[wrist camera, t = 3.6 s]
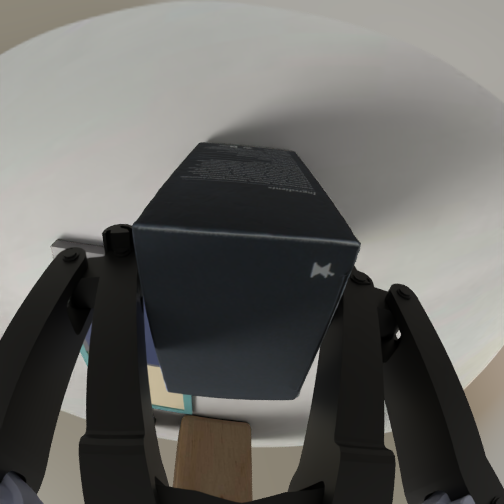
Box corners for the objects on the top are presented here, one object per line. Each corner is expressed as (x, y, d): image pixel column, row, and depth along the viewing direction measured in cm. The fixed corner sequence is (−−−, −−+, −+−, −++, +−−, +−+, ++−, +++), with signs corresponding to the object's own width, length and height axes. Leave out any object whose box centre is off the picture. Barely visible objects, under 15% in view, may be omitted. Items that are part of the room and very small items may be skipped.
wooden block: (252, 420, 34) (255, 545, 17) (236, 439, 39) (236, 540, 22) (183, 411, 32) (170, 540, 15) (178, 431, 37) (169, 534, 21)
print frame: (104, 393, 31) (104, 396, 31) (74, 331, 24) (72, 335, 23) (192, 411, 32) (192, 414, 32) (190, 355, 25) (189, 359, 24)
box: (197, 140, 15) (125, 222, 6) (295, 149, 15) (373, 242, 6) (194, 256, 19) (163, 396, 10) (276, 262, 19) (299, 403, 10)
